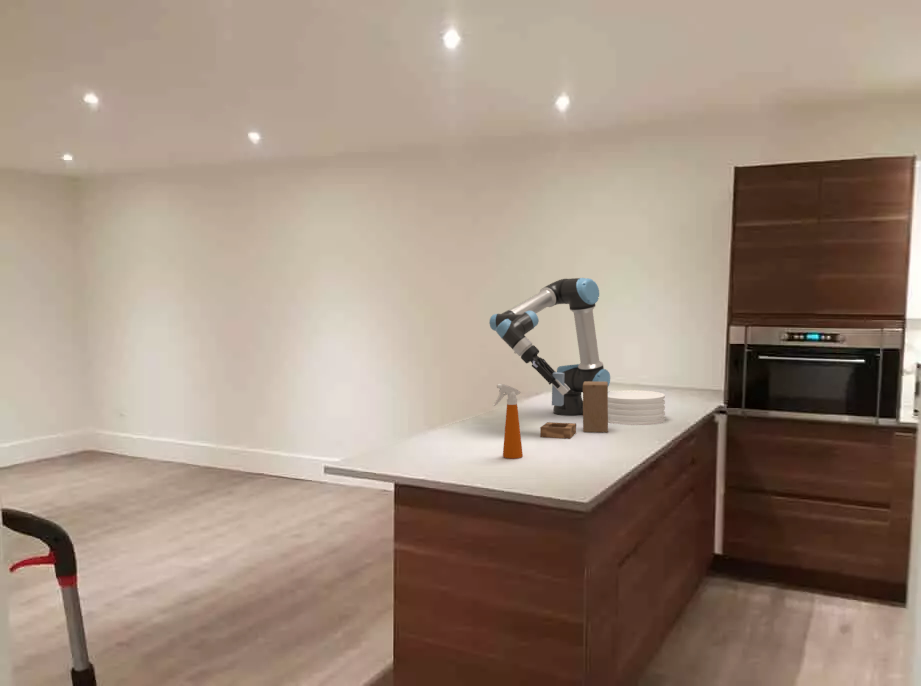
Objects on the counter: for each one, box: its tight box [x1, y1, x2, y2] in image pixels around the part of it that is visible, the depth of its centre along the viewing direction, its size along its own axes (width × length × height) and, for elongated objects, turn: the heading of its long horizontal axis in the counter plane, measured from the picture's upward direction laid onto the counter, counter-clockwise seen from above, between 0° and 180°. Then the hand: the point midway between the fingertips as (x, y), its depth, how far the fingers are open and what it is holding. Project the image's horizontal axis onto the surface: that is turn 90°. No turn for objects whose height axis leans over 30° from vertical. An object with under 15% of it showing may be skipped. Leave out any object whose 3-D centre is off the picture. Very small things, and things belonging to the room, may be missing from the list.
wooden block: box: [582, 381, 609, 433], centre depth 312 cm, size 10×10×20 cm
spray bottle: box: [492, 383, 524, 460], centre depth 265 cm, size 7×11×26 cm, turn 111°
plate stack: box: [608, 389, 666, 426], centre depth 337 cm, size 28×28×12 cm
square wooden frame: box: [539, 421, 577, 440], centre depth 304 cm, size 12×12×4 cm
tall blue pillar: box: [551, 371, 565, 407], centre depth 303 cm, size 4×4×13 cm
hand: (566, 392), depth 301 cm, fingers closed on tall blue pillar, 4 cm apart
